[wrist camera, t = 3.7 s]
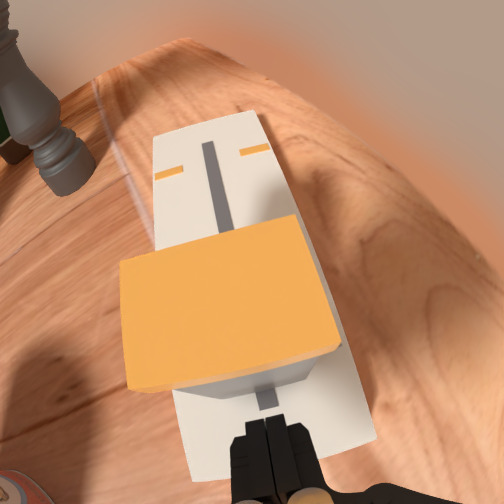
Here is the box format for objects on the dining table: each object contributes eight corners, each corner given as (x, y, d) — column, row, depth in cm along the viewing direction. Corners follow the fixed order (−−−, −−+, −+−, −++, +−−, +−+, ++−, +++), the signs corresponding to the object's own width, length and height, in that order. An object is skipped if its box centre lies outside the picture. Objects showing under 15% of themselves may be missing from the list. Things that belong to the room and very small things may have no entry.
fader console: (366, 435, 15) (377, 439, 12) (204, 474, 14) (192, 482, 12) (256, 129, 29) (253, 108, 26) (161, 155, 29) (152, 136, 26)
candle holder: (59, 167, 31) (-32, 13, 10) (98, 150, 31) (13, -24, 10) (49, 203, 28) (-65, 33, 6) (91, 185, 28) (-19, -13, 7)
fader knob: (310, 381, 14) (341, 341, 6) (219, 403, 14) (127, 389, 6) (293, 322, 16) (294, 213, 8) (207, 343, 16) (119, 261, 8)
